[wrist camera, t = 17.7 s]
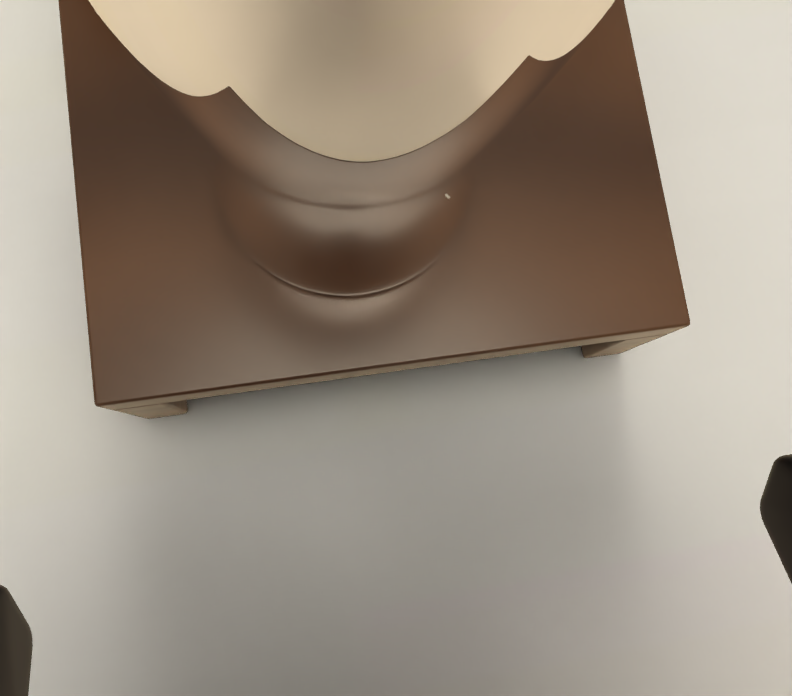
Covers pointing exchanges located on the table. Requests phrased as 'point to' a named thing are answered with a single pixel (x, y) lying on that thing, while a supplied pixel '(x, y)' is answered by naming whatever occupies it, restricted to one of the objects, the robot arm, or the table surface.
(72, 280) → the table surface
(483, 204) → the desk shelf
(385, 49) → the beer glass
